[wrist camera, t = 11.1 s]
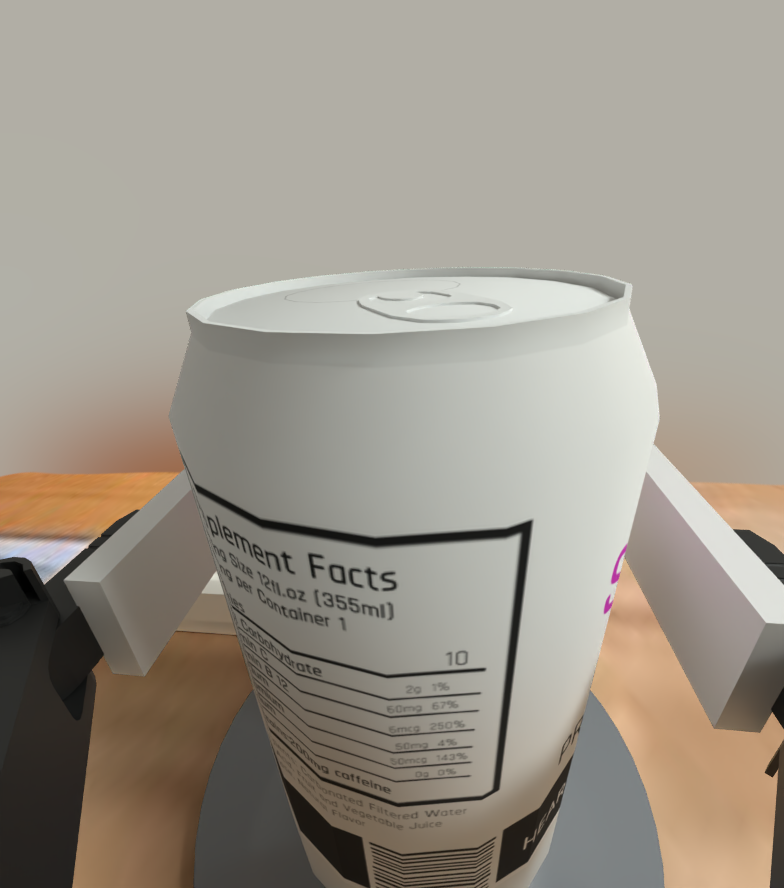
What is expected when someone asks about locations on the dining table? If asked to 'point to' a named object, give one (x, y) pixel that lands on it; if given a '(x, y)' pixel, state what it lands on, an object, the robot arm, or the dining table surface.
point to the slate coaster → (555, 884)
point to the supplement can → (419, 545)
